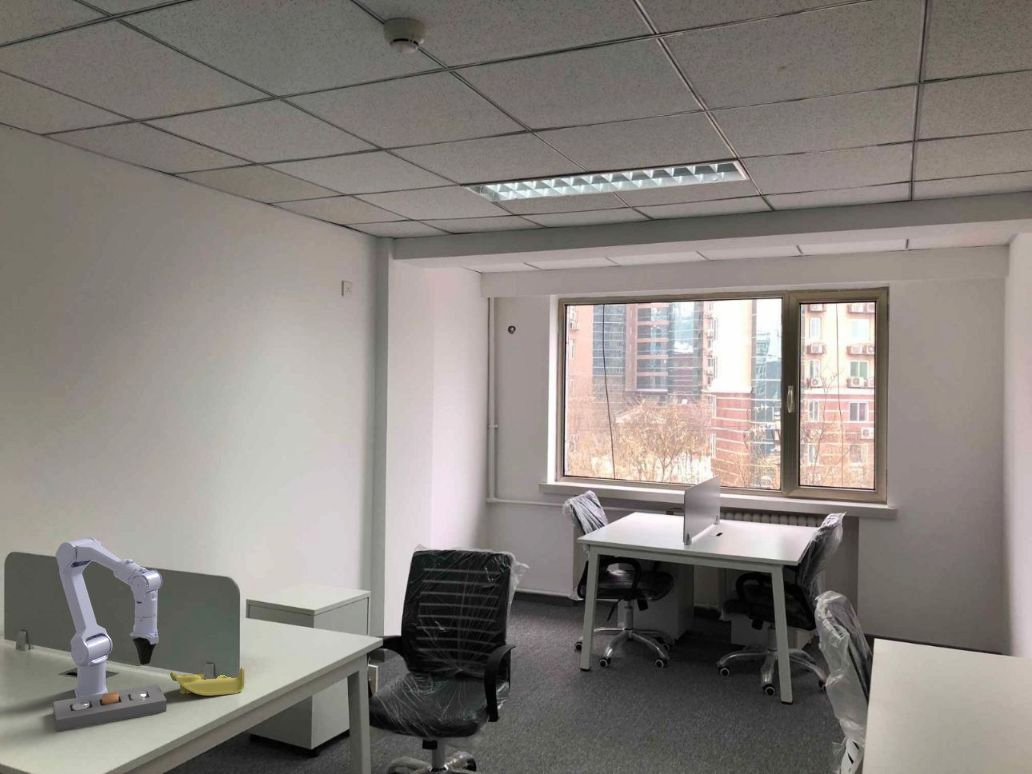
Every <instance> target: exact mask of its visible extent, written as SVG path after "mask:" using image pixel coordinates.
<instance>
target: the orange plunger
mask: <svg viewBox="0 0 1032 774" xmlns="http://www.w3.org/2000/svg"><path fill="white" fill-rule="evenodd" d="M114 703H119V693H118V692H114V691H108V693H105V694H103V695H102V705H109V704H114Z"/></svg>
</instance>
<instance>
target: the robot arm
mask: <svg viewBox="0 0 1032 774" xmlns="http://www.w3.org/2000/svg"><path fill="white" fill-rule="evenodd" d="M55 558H56V563H57V565H58V569H59V570H58V572H59V577H60V581H61V584H62V588H63V590H64V594H65V597H66V602H67V605H68V608H69V611H70V615H71V618H72V622H73V625H74V629H75V633H74V635H73V637H72V638H71V639H70V641H69V643H70V646H71V651H70V655H71V659H72V661H73V662H74V663H75V665H76V666H77V673H76V674H77V675H76V676H77V678H76V679H77V680H76V682H77V683H76V686H75V687H73V691H74V695H75V698H79V697H85V696H90V695H96V694H102V693H108V692H109V691H108V687H107V684H106V678H107V677H106V676H107V675H106V671H107V670H106V669H107V667H106V666H107V659H108V658H109V655H110V654H111V652H112V650H113V645H114V644H113V641H112V639H111V637H110V636H109V635H108V633H107V629H106V628H104V627H102V626H100V625H99V624H97V619H96V616H95V613H94V609H93V606H92V603H91V600H90V595H89V592H88V590H87V586H86V583H85V579H84V576H83V572H84V571H85V568H86V567H87V566H88V565H89V564H91V563H92V561H93V562H95V563H97V564H99V565H101V566H103V567H106V568H107V569H109V570H111V571H112V572H113V576H114V577H115V578H116V579H118V580H120V581H121V582H122V583H124V584H126V585H128V586H129V587H130V590H131V592H132V594H133V599H134V625H133V628H132V632H130V633H129V636H130V637H135V638H133V639H132V642H133V643H134V645H135V648H136V652H137V655H138V660H139V663H140V665H142V666H144V665H149V664H150V663H151V659H152V655H153V652H154V649H155V647H156V645H157V644H159V635H158V628H157V627H158V590H159V589H161V588H162V586H163V577H162V574H161V573H160V572H158V571H157V569H152V570H151V569H150V570H149V569H147V568H146V567H142V566H140V565H139V564H137V563H135V562H134V560H133V559H132V558H124V559H121V558H119V557H118V556H116V555H115V554H113V553H112V552H110V550H108V549H107V548H105V547H104V546H102V544H101V541H100V540H97V539H96V538H94V537H92V536H90V537H86V538H81V539H76V540H73V541H67V542H66V541H65V542H62V543H61V544H60V545H59V547H58V548H57V550H56V552H55ZM88 638H89V639H88Z"/></svg>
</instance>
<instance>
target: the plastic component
mask: <svg viewBox="0 0 1032 774" xmlns="http://www.w3.org/2000/svg"><path fill="white" fill-rule="evenodd" d="M169 674H170V678H171V680H172V681H174V682H177V683H178V684H179V694H182V695H183V694H184V695H185V694H190V693H193V694H196V695H199V696H204V697H206V696H208V697H212V696H222V695H223V696H224V695H225V696H227V695H235V694H239V693H240V692H242V691H243V689H244V687H245V667H244V666H243V667H240V668H239V677H235V678H231V677H227V676H225V675H220V676H218V677H217V678H216V679H206V680H204V679H203V677H204V674H205V673H197V674H196V673H195V674H176V672H175V671H171V672H170V673H169Z"/></svg>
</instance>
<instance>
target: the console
mask: <svg viewBox="0 0 1032 774" xmlns="http://www.w3.org/2000/svg"><path fill="white" fill-rule="evenodd" d="M113 692H118V693H119V703H114V704H109V705H102V695H103V694H105V693H102V694H96V695H90V696H85V697H79V698H76V697H75V698H73V697H72V698H68V699H63V700H62V699H61V700H57V701H53V703H52V704H53V707H52V708H53V709H52V710H53V711H52V712H53V720H54V725H55V726H54V727H55V730H56V732H62V731H67V730H73V729H79V728H83V727H89V726H95V725H100V724H106V723H110V722H111V723H112V722H117V721H121V720H127V719H131V718H137V717H138V718H139V717H143V716H148V715H153V714H158V713H164V712H167V706H168V705H167V701H168V700H167V698H166V696H165V694H164V693H163V691H162V689H161V687H160V685H159V684H158V683H156V684H151V685H144V686H138V687H133V688H126V689H122V690H115V691H114V690H113ZM135 692H146V693H147V698H143V699H137V700H131V694H132V693H135ZM82 701H87V702H89V703H90V708H86V709H81V710H75V711H72V708H73V704H75V703H77V702H82Z"/></svg>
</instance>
